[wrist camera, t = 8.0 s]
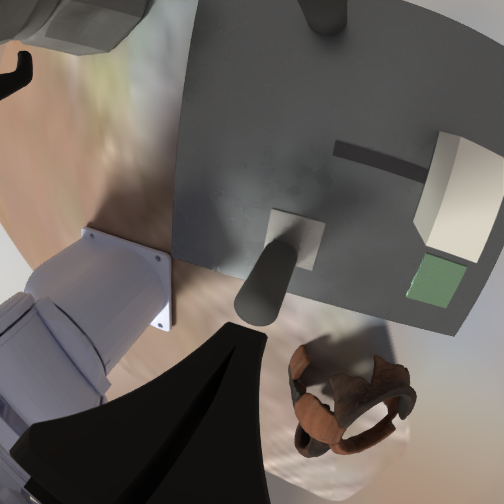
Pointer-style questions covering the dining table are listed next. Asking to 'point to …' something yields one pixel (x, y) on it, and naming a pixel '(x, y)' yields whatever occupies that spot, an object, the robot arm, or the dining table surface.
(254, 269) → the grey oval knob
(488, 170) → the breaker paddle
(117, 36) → the coffeepot
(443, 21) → the panel
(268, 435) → the dining table surface
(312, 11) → the black cylinder
